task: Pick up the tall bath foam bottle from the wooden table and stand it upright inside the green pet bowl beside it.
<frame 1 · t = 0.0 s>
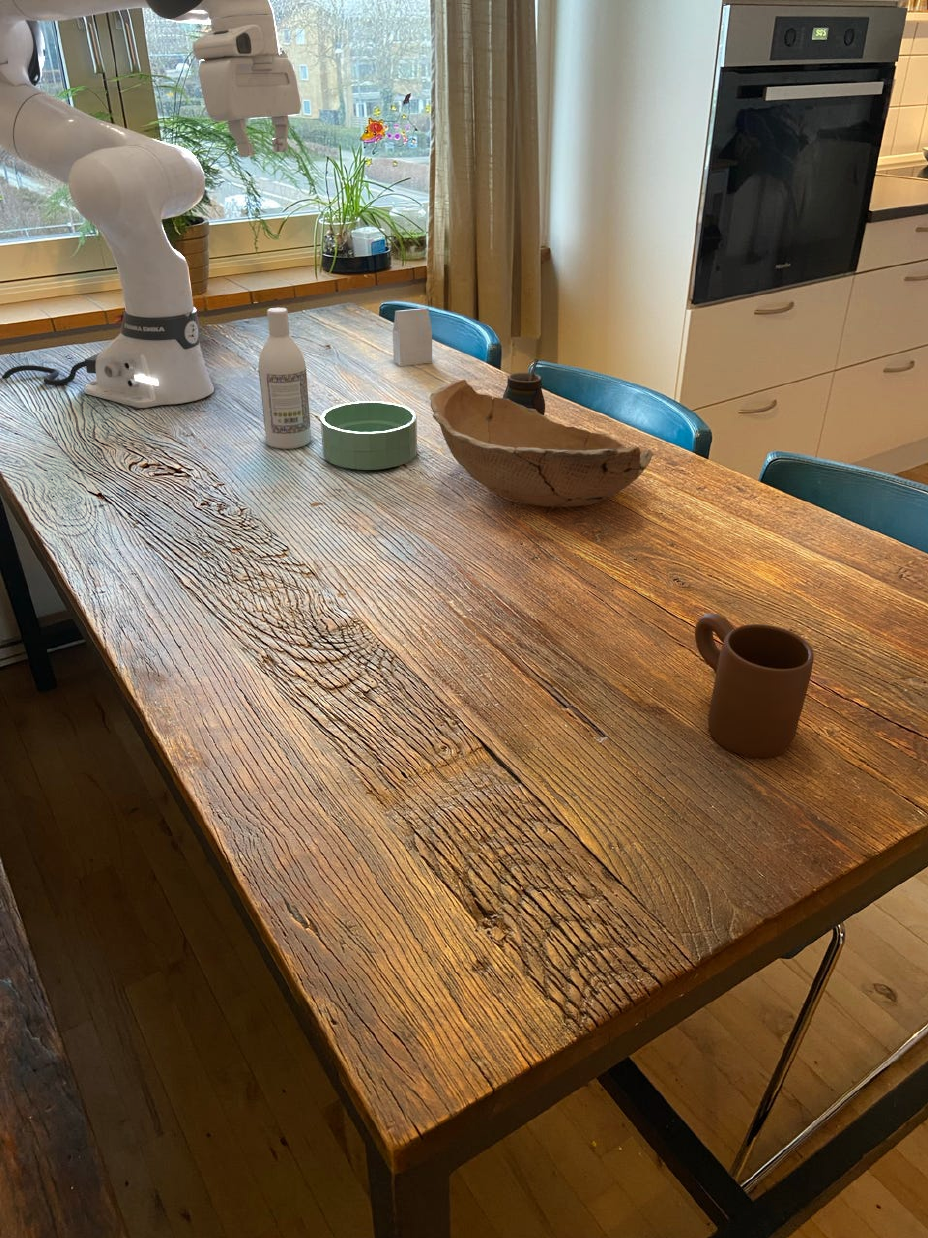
hand: (264, 153, 134), 39 cm above the table, tool pointing down, fingers open, 8 cm apart
bath foam: (289, 443, 142), on the table
green pet bowl: (370, 455, 138), on the table
white boxy piece: (412, 362, 180), on the table
mate gourd: (521, 425, 150), on the table
ceramic bowl: (535, 491, 128), on the table
mug: (731, 722, 84), on the table
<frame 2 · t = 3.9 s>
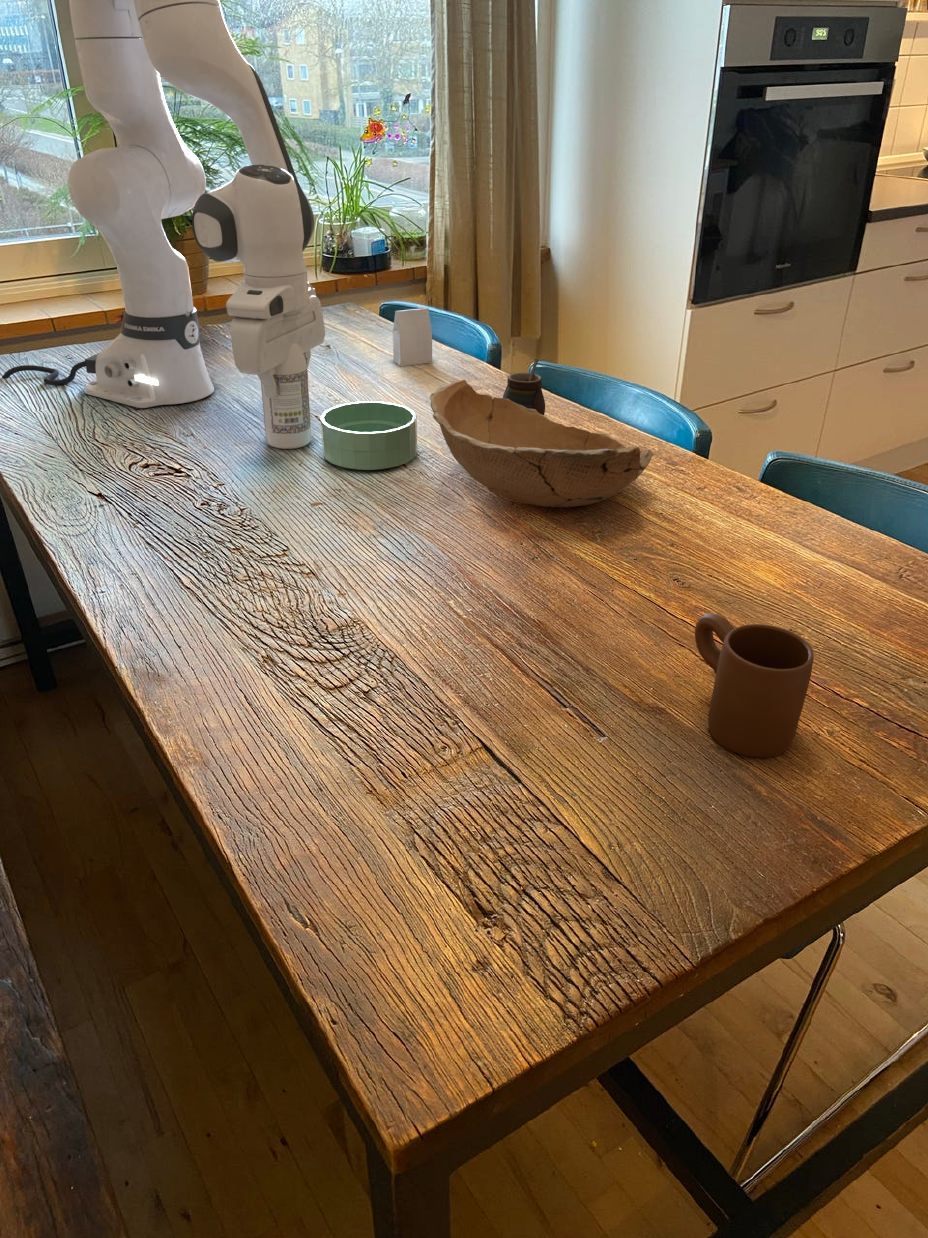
hand: (287, 388, 137), 9 cm above the table, tool pointing down, fingers closed on bath foam, 7 cm apart
bath foam: (289, 443, 142), on the table, touching arm, gripper
everything else where it was.
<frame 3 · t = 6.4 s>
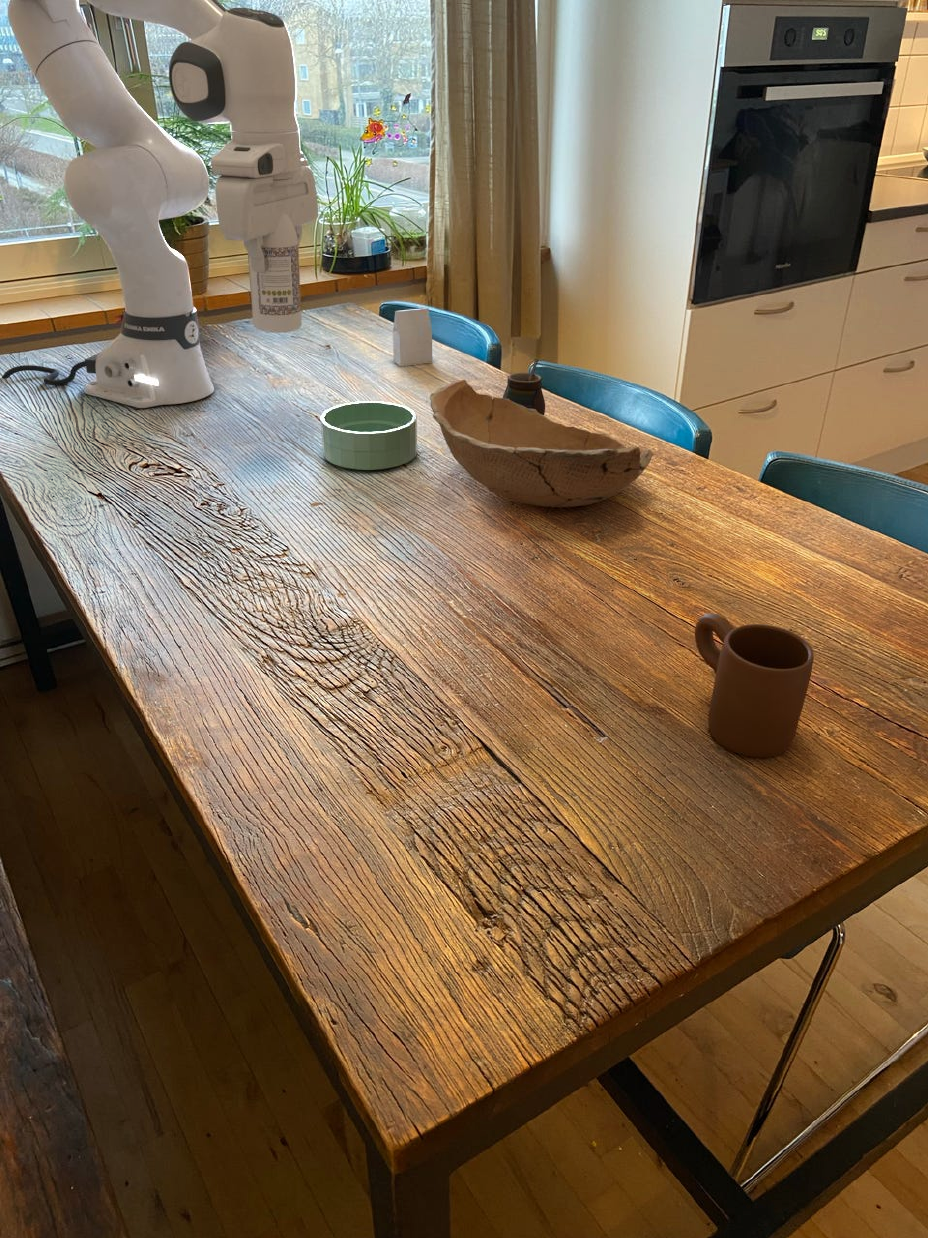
hand: (276, 265, 128), 26 cm above the table, tool pointing down, fingers closed on bath foam, 7 cm apart
bath foam: (277, 328, 133), point 17 cm above the table, touching arm, gripper
everything else where it was.
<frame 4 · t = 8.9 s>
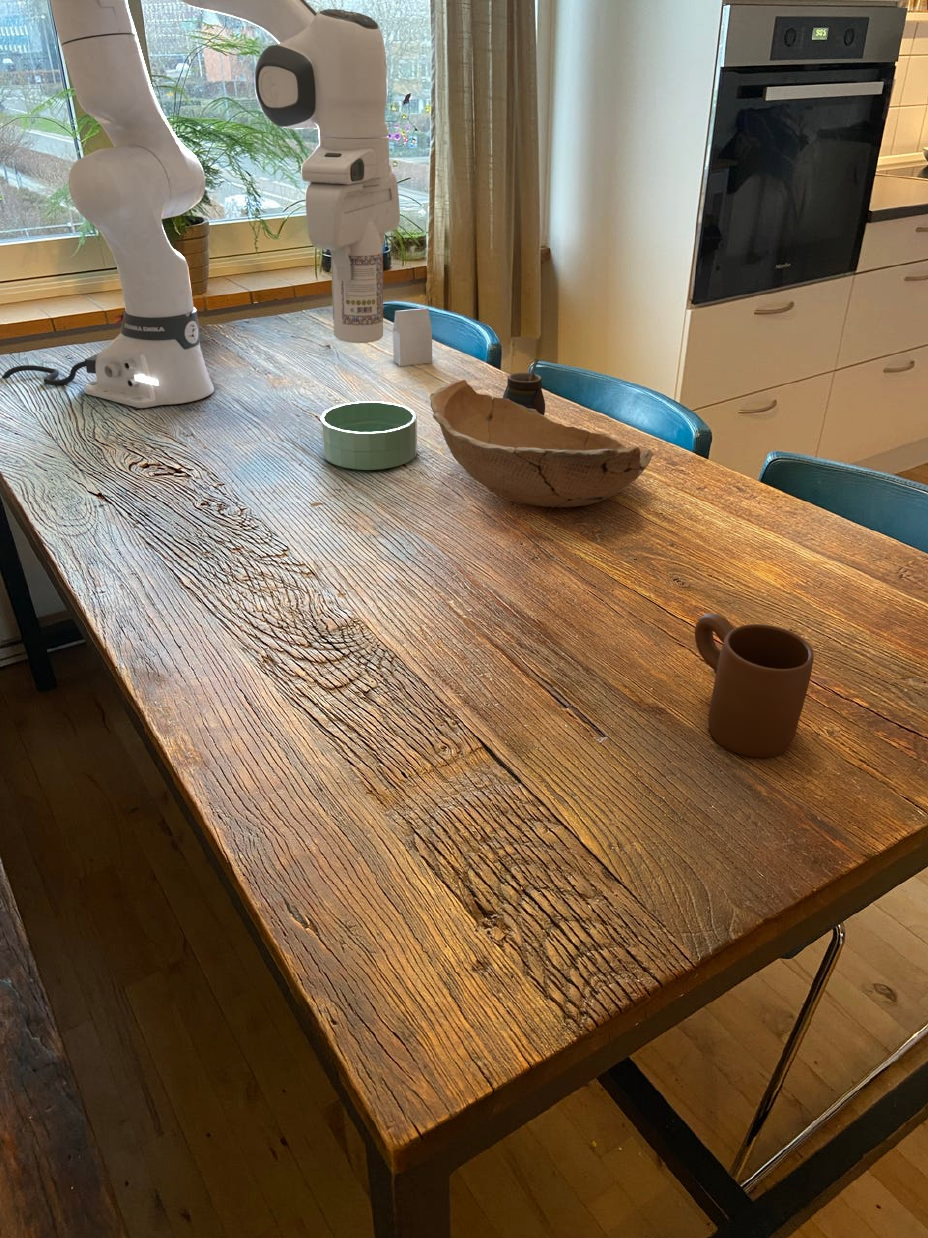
hand: (359, 274, 124), 26 cm above the table, tool pointing down, fingers closed on bath foam, 7 cm apart
bath foam: (358, 338, 129), point 17 cm above the table, touching arm, gripper
everything else where it was.
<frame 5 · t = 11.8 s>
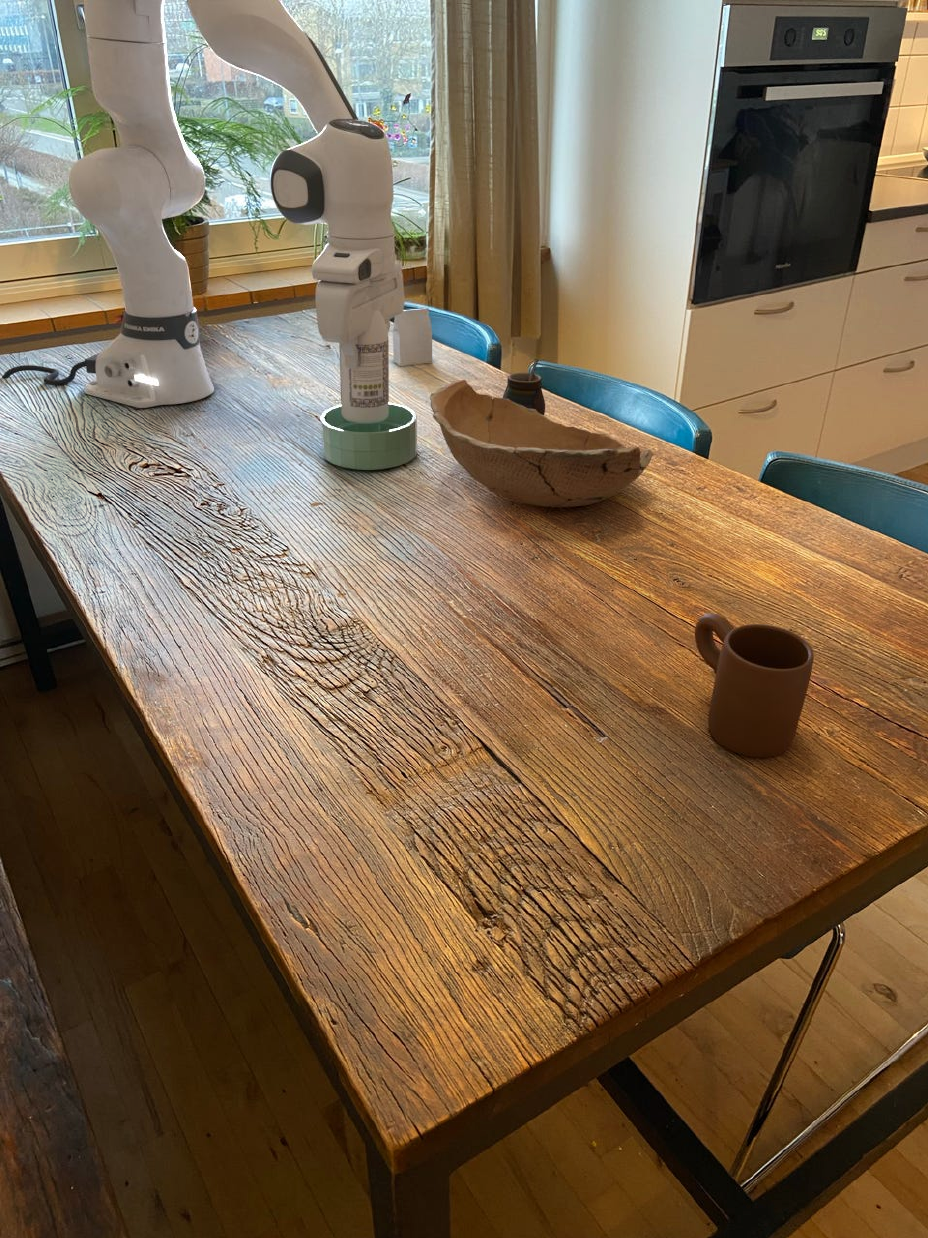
hand: (366, 359, 130), 14 cm above the table, tool pointing down, fingers closed on bath foam, 7 cm apart
bath foam: (365, 418, 135), point 6 cm above the table, touching arm, gripper
everything else where it was.
when the fingers open (9 cm above the table, at t = 14.0 s): bath foam stays where it is, resting on green pet bowl.
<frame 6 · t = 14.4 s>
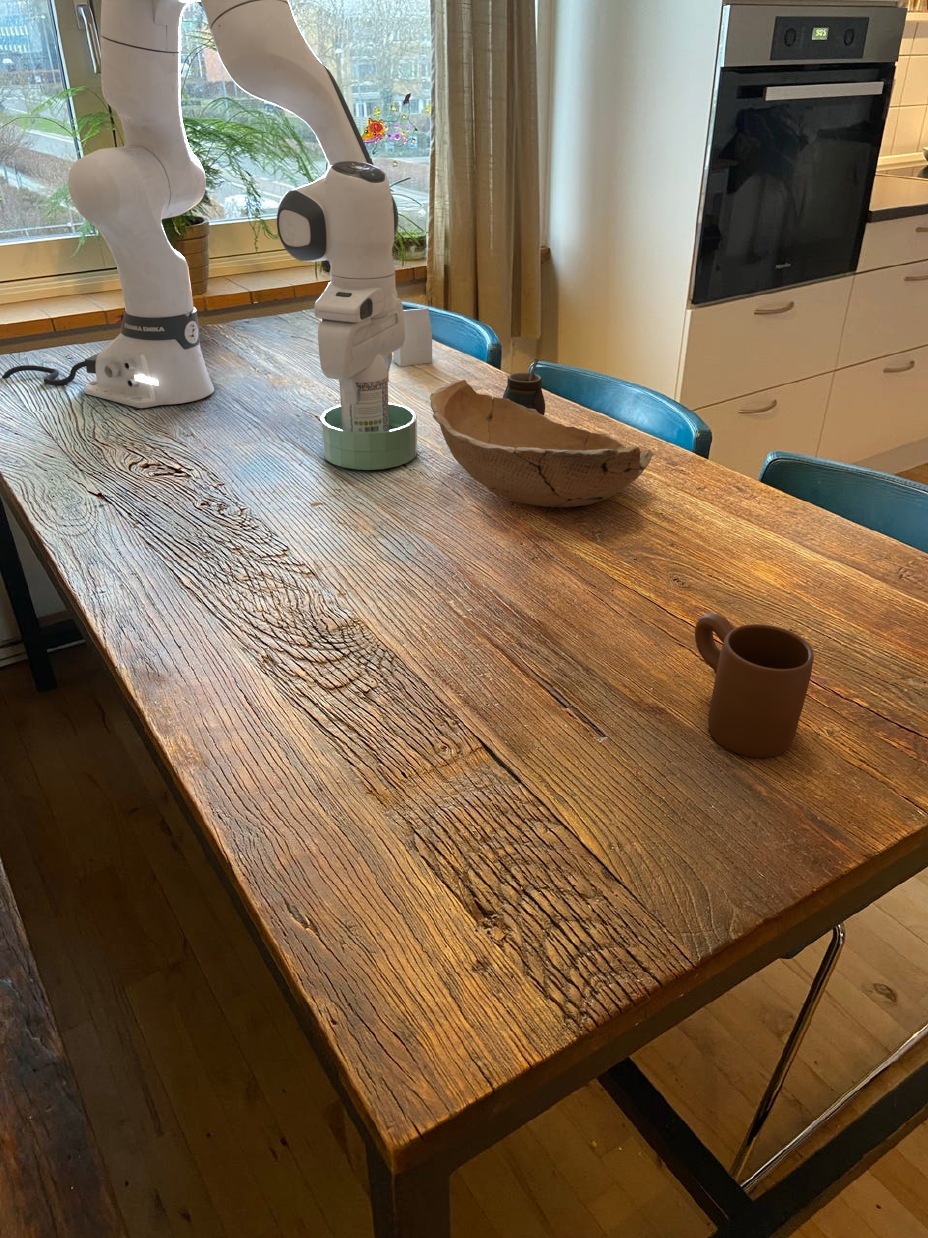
hand: (367, 393, 133), 10 cm above the table, tool pointing down, fingers open, 8 cm apart
bath foam: (366, 452, 138), resting on green pet bowl
everything else where it was.
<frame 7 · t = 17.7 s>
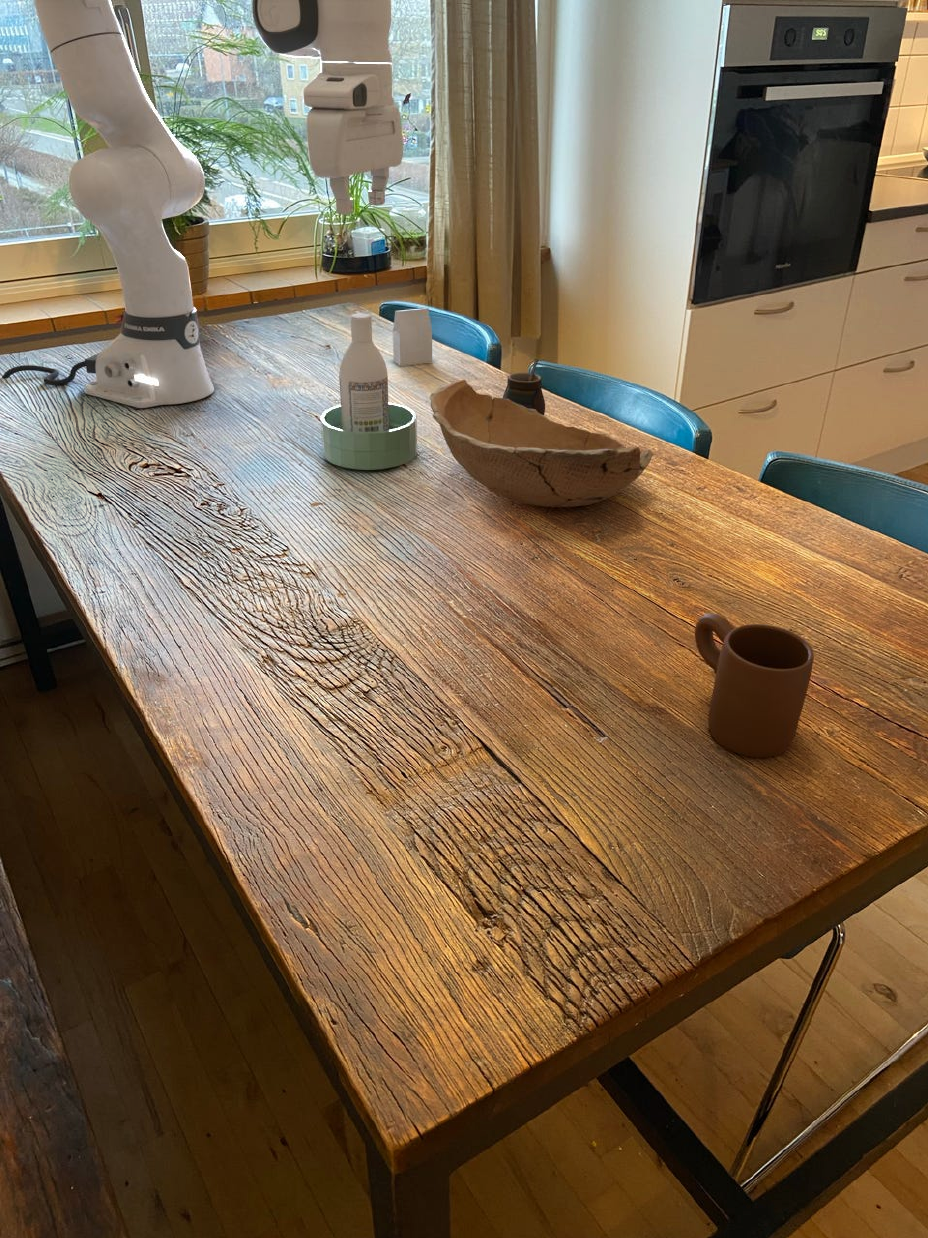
hand: (361, 209, 122), 34 cm above the table, tool pointing down, fingers open, 8 cm apart
nothing on the table moved.
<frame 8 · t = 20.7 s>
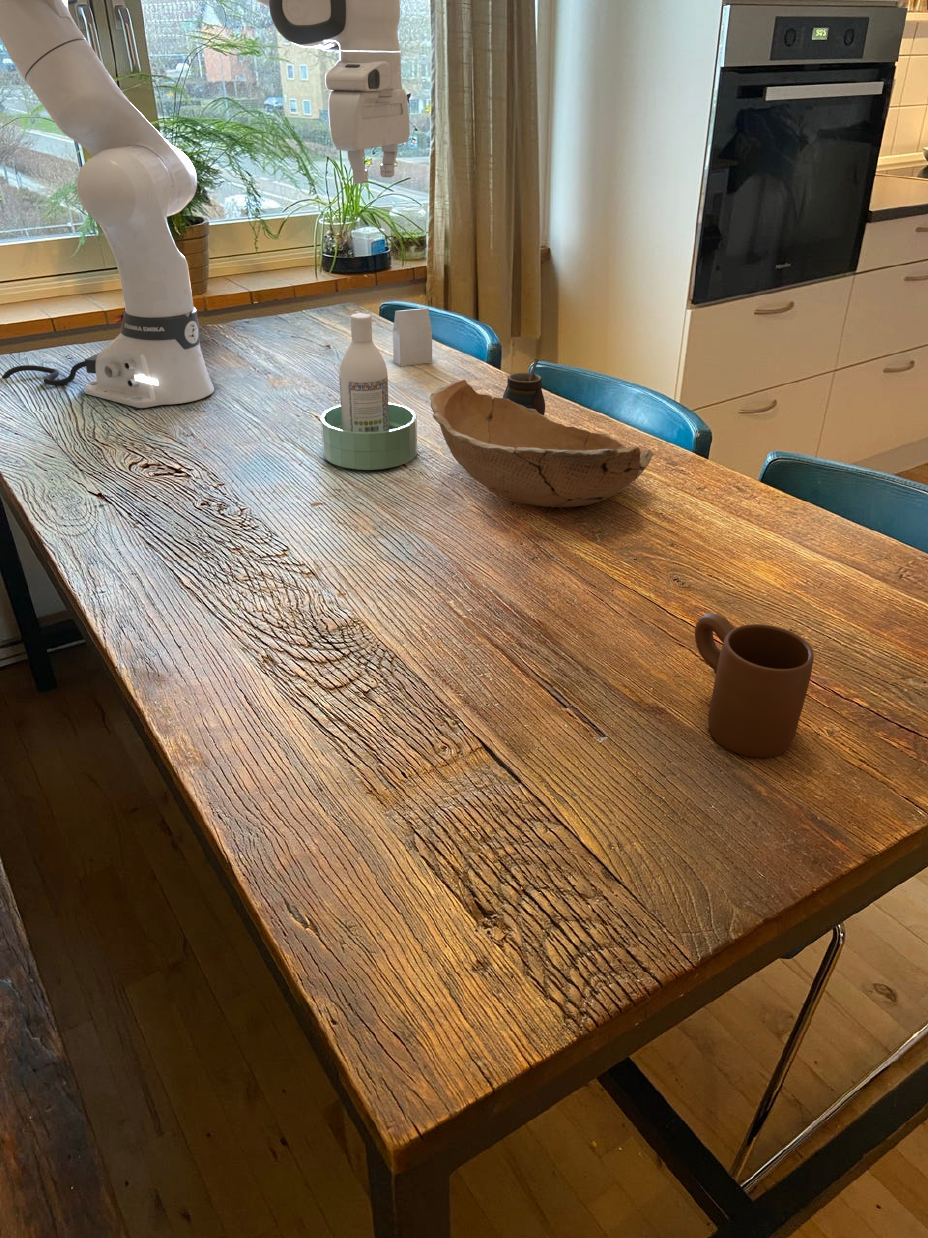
hand: (374, 179, 140), 35 cm above the table, tool pointing down, fingers open, 8 cm apart
nothing on the table moved.
at the end: bath foam inside the target area in the green pet bowl (0.6 cm from its centre), point 0.3 cm above the green pet bowl's base; bath foam tilted 0°; the gripper is holding nothing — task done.
